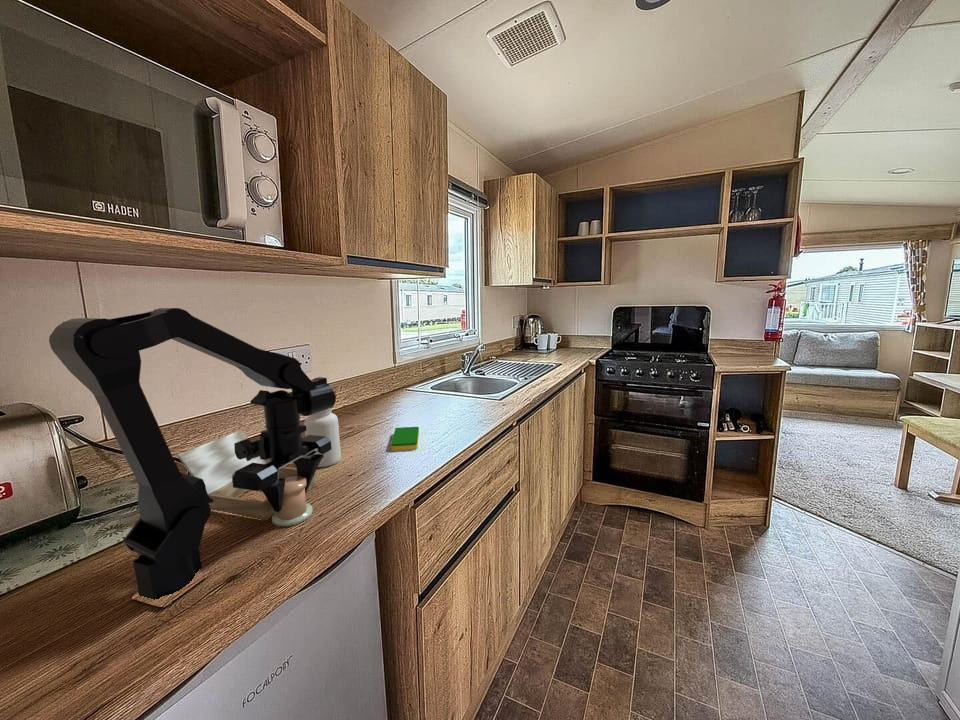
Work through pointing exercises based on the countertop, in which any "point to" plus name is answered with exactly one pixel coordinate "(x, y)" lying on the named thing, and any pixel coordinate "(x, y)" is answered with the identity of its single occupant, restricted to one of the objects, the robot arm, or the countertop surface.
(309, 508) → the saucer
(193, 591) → the countertop surface
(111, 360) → the robot arm
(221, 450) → the cold frame
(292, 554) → the countertop surface
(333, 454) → the pill bottle
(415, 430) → the dish sponge
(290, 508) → the tan knob
